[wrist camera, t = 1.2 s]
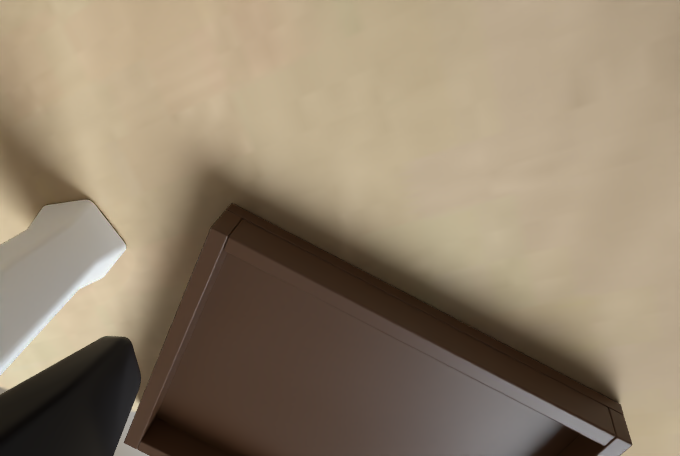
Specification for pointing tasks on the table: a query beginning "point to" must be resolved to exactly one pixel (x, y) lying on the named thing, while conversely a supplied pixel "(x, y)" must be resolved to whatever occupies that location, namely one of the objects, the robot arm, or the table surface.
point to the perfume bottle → (50, 269)
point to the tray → (345, 368)
